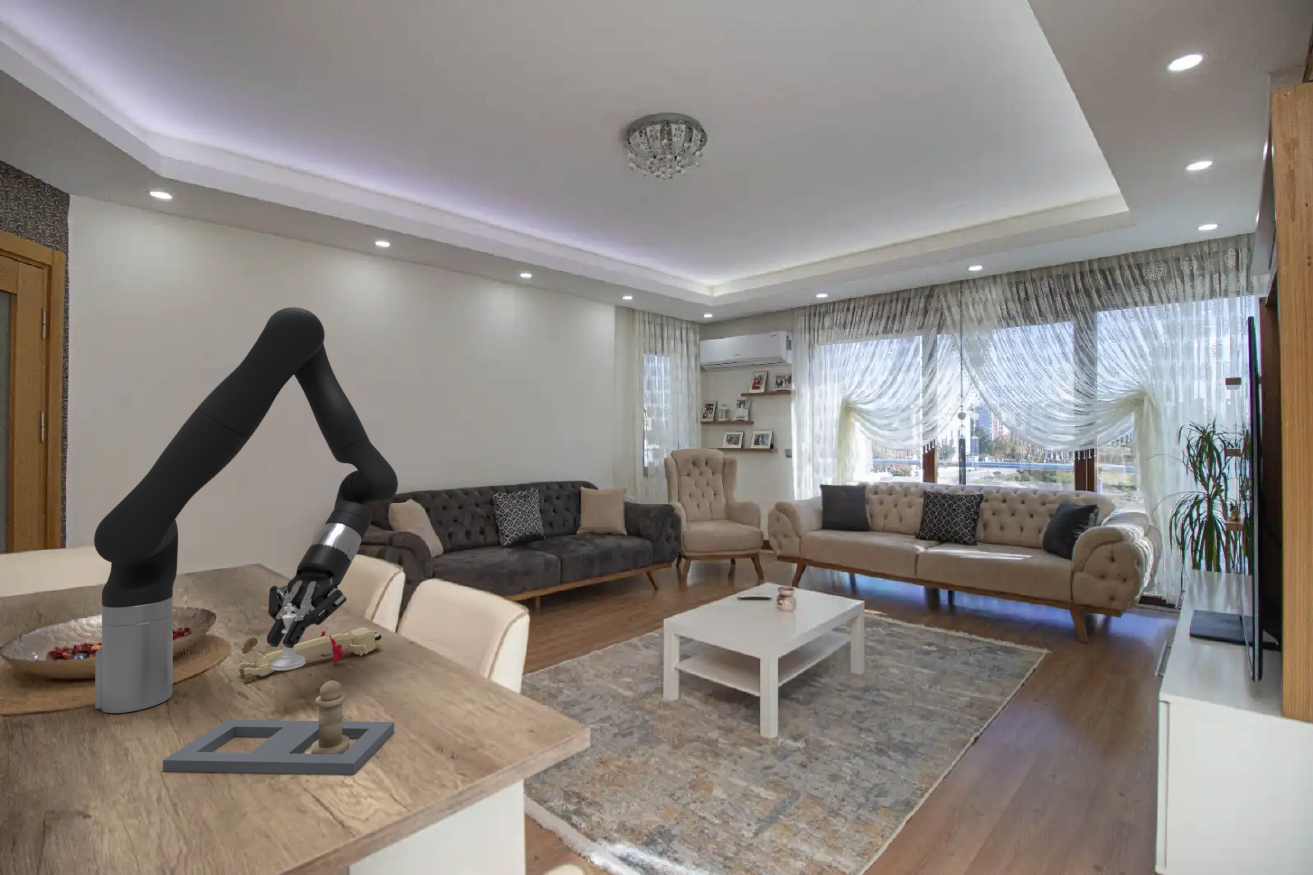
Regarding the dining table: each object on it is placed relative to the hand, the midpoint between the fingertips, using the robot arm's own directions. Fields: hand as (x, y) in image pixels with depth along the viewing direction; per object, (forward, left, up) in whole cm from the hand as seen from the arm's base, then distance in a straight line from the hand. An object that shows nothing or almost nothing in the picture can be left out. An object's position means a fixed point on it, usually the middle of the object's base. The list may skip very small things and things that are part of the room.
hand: (279, 644), depth 99 cm
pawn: (+14, -10, -12) cm, 21 cm away
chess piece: (0, +2, -4) cm, 5 cm away
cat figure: (-8, +24, -12) cm, 28 cm away
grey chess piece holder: (+7, -10, -12) cm, 17 cm away
